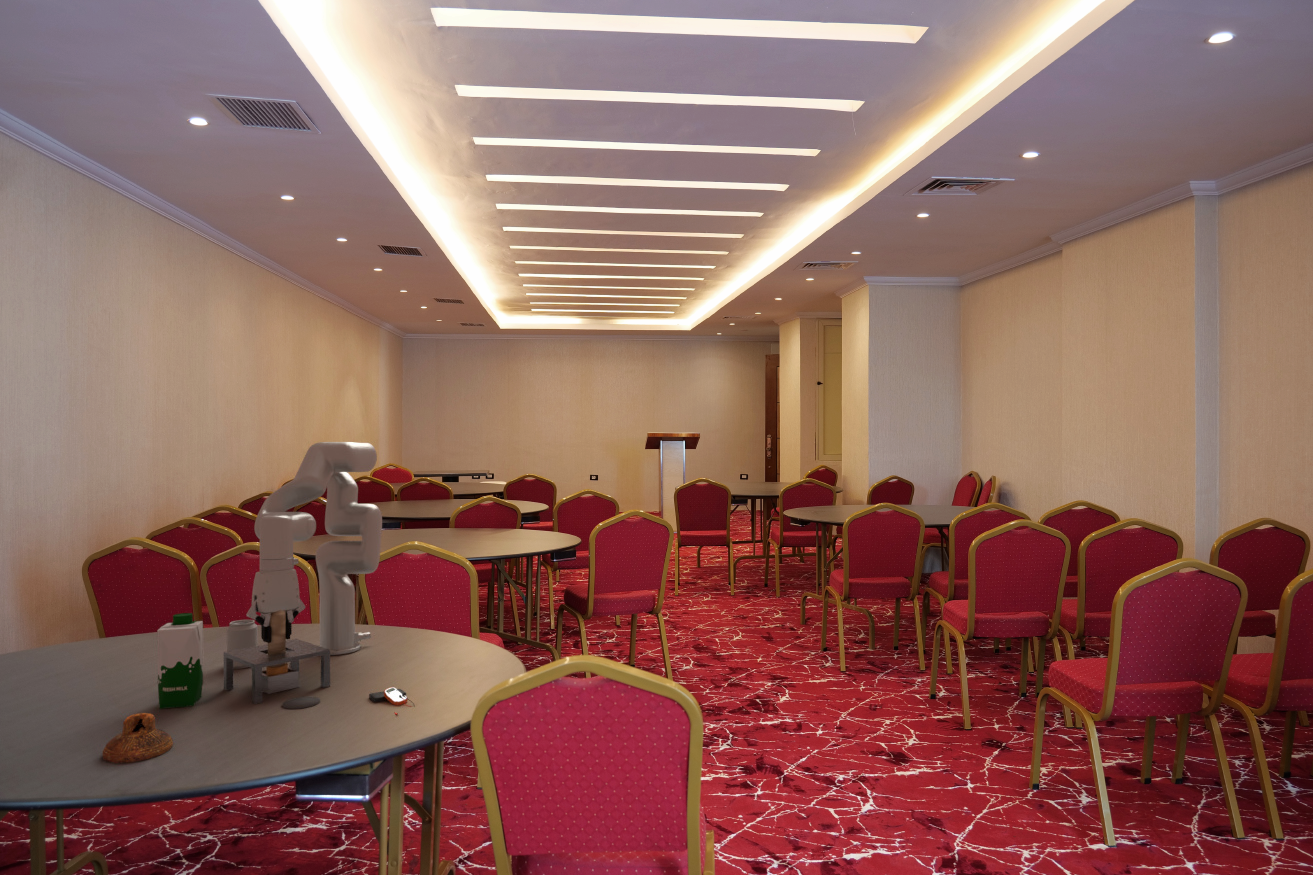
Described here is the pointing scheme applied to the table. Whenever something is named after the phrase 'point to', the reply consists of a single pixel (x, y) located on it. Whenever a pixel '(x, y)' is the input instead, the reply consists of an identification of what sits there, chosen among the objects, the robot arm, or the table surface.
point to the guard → (260, 658)
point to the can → (241, 637)
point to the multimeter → (390, 696)
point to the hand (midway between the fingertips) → (276, 639)
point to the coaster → (300, 702)
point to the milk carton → (180, 662)
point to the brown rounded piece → (137, 740)
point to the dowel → (277, 635)
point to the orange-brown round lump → (276, 670)
